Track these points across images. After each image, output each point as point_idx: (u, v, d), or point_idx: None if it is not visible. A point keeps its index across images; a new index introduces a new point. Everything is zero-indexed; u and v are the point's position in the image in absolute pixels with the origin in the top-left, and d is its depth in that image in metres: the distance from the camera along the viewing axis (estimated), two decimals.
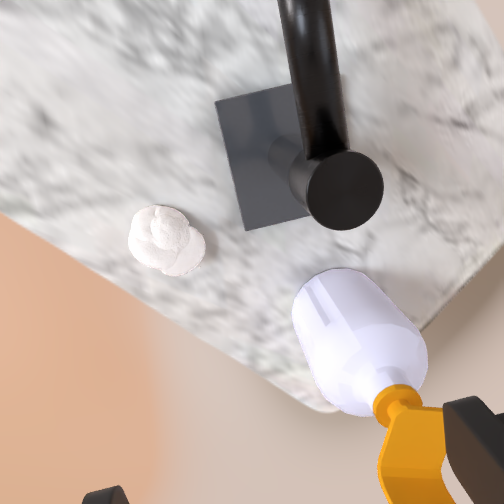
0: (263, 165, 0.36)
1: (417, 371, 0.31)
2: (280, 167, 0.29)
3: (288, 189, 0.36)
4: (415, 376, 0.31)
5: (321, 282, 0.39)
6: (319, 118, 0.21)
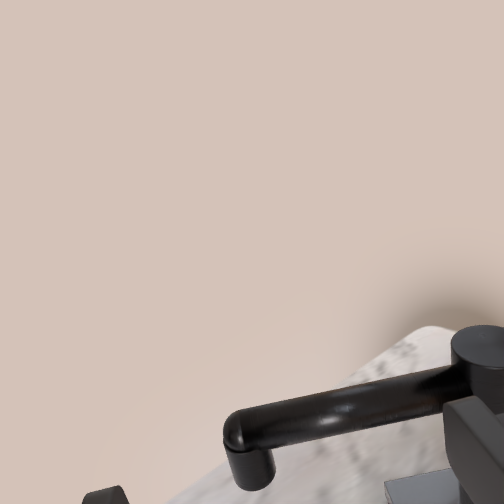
0: None
1: None
2: None
3: None
4: None
5: None
6: (430, 380, 0.24)
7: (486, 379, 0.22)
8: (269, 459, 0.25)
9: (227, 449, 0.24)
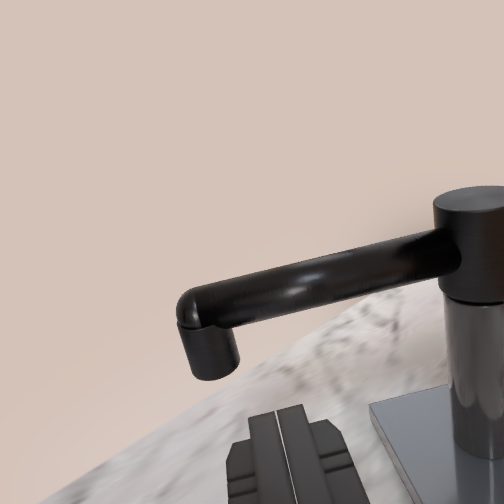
0: None
1: None
2: (494, 368, 0.22)
3: None
4: None
5: None
6: (411, 240, 0.21)
7: (474, 227, 0.20)
8: (231, 343, 0.21)
9: (180, 328, 0.21)
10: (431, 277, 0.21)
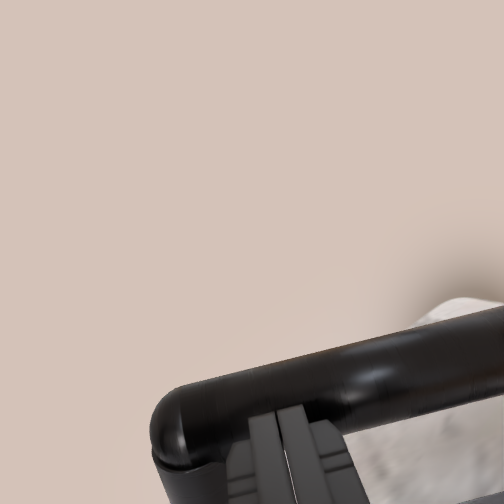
0: None
1: None
2: None
3: None
4: None
5: None
6: None
7: None
8: None
9: (157, 463, 0.12)
10: None
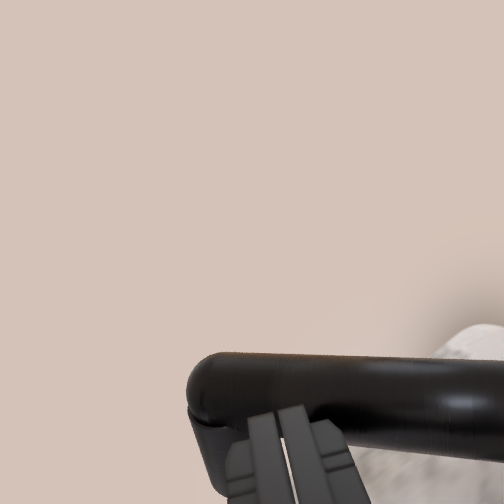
0: None
1: None
2: None
3: None
4: None
5: None
6: None
7: None
8: None
9: (188, 412, 0.14)
10: None
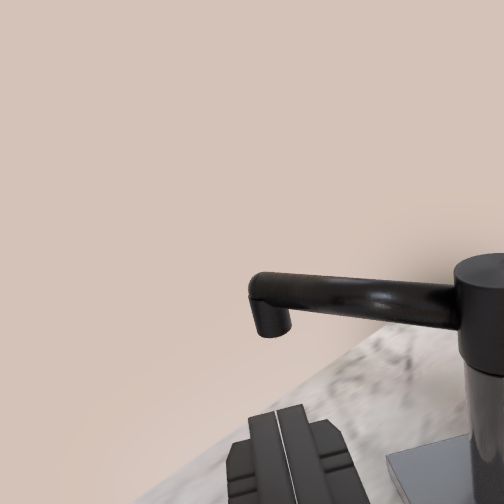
0: None
1: None
2: None
3: None
4: None
5: None
6: (421, 289, 0.23)
7: (466, 297, 0.20)
8: (278, 317, 0.30)
9: (248, 296, 0.30)
10: (434, 326, 0.23)
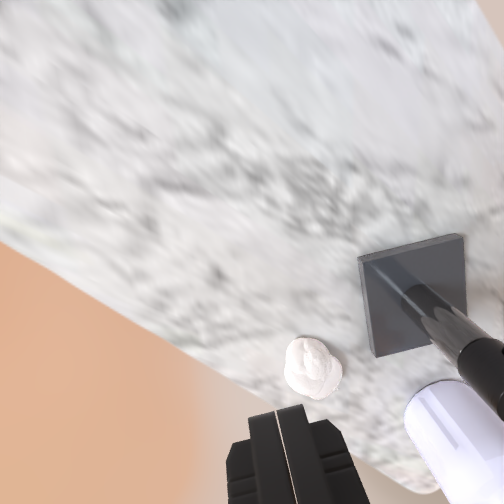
0: (396, 308, 0.42)
1: None
2: (433, 334, 0.36)
3: (414, 325, 0.43)
4: None
5: (436, 397, 0.46)
6: None
7: None
8: None
9: None
10: None
